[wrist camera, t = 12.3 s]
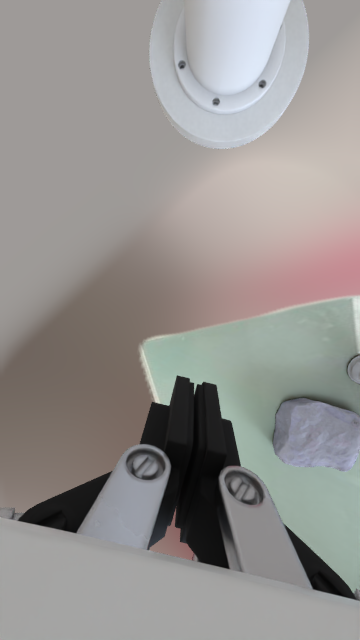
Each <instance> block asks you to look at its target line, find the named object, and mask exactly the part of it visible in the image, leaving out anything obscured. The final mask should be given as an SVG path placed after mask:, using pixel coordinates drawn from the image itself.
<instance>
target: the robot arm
mask: <svg viewBox="0 0 360 640" xmlns="http://www.w3.org/2000/svg"><path fill="white" fill-rule="evenodd" d="M290 1H291V0H184V5H185V6H184V7H183V9H182V11H181V14H180V16H179V18H178V21H177V24H176V28H175V32H174V40H173V58H174V65H175V71H176V74H177V77H178V81H179V83H180V85H181V87H182V89H183V91H184V92H185V93H186V95H187V96H188V97H189V99H190V100H191V101H193V102H194V103H195V104H196V105H197V106H198V107H200V108H202V109H204V110H206V111H208V112H211V113H215V114H224V115H227V114H233V113H238V112H240V111H243V110H246V109H247V108H249V107H250V106H252V105H254V104H255V103H256V102H257V101H258V100H260V99H261V98H262V97H263V96H264V95H265V93H266V92H267V91H268V89H269V88H270V87H271V85H272V83H273V81H274V79H275V78H276V76H277V73H278V71H279V69H280V66H281V63H282V59H283V56H284V51H285V42H286V35H285V24H284V17H285V14H286V11H287V9H288V6H289V3H290ZM181 68H184V69H181ZM259 87H262V89H261V88H259ZM214 104H217V105H218V106H214ZM175 509H176V519H175V527H176V528H180V529H181V533H180V542H183V543H187V544H188V546H189V547H190V548H191V550H192V551H193V552H194V554H193V557H192V560H188V559H183V558H179V557H175V556H171V555H166V554H162V553H158V552H154V551H149V549H150V547H151V546H152V545H154V544H155V543H156V542H158V541H159V540H160V539H162V538H163V537H164V536H165V533H166V529H167V526H170V525H171V522H172V519H173V515H174V512H175ZM0 640H360V590H358V589H356V591H355V592H354V593H352V591H351V590H350V588H349V587H348V585H347V584H346V583H345V582H344V581H343V580H342V579H341V578H340V576H339V575H338V574H337V573H335V572H334V571H333V570H332V569H331V568H330V567H329V566H328V565H327V564H326V563H325V562H324V561H323V560H322V559H321V558H320V557H319V556H317V555H316V554H315V553H314V552H313V551H312V550H311V549H310V548H309V547H308V546H307V545H306V544H305V543H304V542H303V541H302V540H301V539H299V538H298V537H297V536H296V535H295V534H294V533H293V532H292V531H291V530H290V529H289V528H288V527H287V526H286V525H285V524H284V523H283V522H282V520H281V518H280V515H279V513H278V511H277V509H276V507H275V504H274V502H273V500H272V498H271V496H270V493H269V491H268V489H267V487H266V486H265V484H264V482H263V481H262V480H261V479H260V478H259V477H258V476H257V475H256V474H254V473H253V472H252V471H250V470H248V469H246V468H244V467H241V465H240V460H239V455H238V450H237V446H236V441H235V436H234V431H233V427H232V423H231V421H230V420H226V419H222V418H221V411H220V405H219V399H218V392H217V386H216V385H214V384H210V383H206V382H203V383H202V385H199V384H197V387H196V391H195V394H194V383H191V382H190V379H189V378H185V377H181V376H177V378H176V381H175V385H174V389H173V393H172V397H171V401H170V405H169V406H167V405H163V404H158V403H154V402H152V404H151V407H150V411H149V414H148V418H147V421H146V424H145V428H144V431H143V434H142V438H141V441H140V444H139V445H135V446H132V447H130V448H129V449H127V450H126V451H125V452H124V453H123V455H122V456H121V458H120V460H119V461H118V463H117V465H116V467H115V468H114V470H113V471H111V472H109V473H107V474H105V475H102V476H100V477H98V478H96V479H93V480H91V481H89V482H86V483H85V484H82V485H80V486H77V487H75V488H73V489H71V490H69V491H66V492H64V493H62V494H59V495H57V496H55V497H53V498H50V499H48V500H46V501H44V502H41V503H39V504H37V505H36V506H34V507H32V508H30V509H29V510H27V511H26V512H25V513H15V508H0Z"/></svg>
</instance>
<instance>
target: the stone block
mask: <svg viewBox="0 0 360 640" xmlns="http://www.w3.org/2000/svg"><path fill="white" fill-rule="evenodd" d="M275 424H276V426H275V431H274V439H273V447H274V451H275V454H276V455H277V456H278V457H279V459H280V460H282V461H283V462H284V463H286V464H290V465H293V466H298V467H314V466H325V467H332V468H335V469H337V470H340V471H348V470H350V469H351V468H352V466H353V465H354V463H355V462H356V459H357V455H358V453H359V450H360V416H359V415H358V414H357V413H355V412H352V411H349V410H345V409H341V408H339V407H335V406H332V405H329V404H327V403H323V402H320V401H312V400H309V399H307V398H298V399H294V400H288V401H285V402H283V403H282V404H281V406H280V408H279V410H278V412H277V414H276V423H275Z"/></svg>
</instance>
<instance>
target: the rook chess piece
mask: <svg viewBox="0 0 360 640" xmlns="http://www.w3.org/2000/svg"><path fill="white" fill-rule="evenodd" d="M348 375H349V377H350V378H351V379H352V380H353V381H355V382H356V383H358V384H360V356H357V357H356V358H354V359H353V360H352V361H351V362H350V364H349V366H348Z"/></svg>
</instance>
